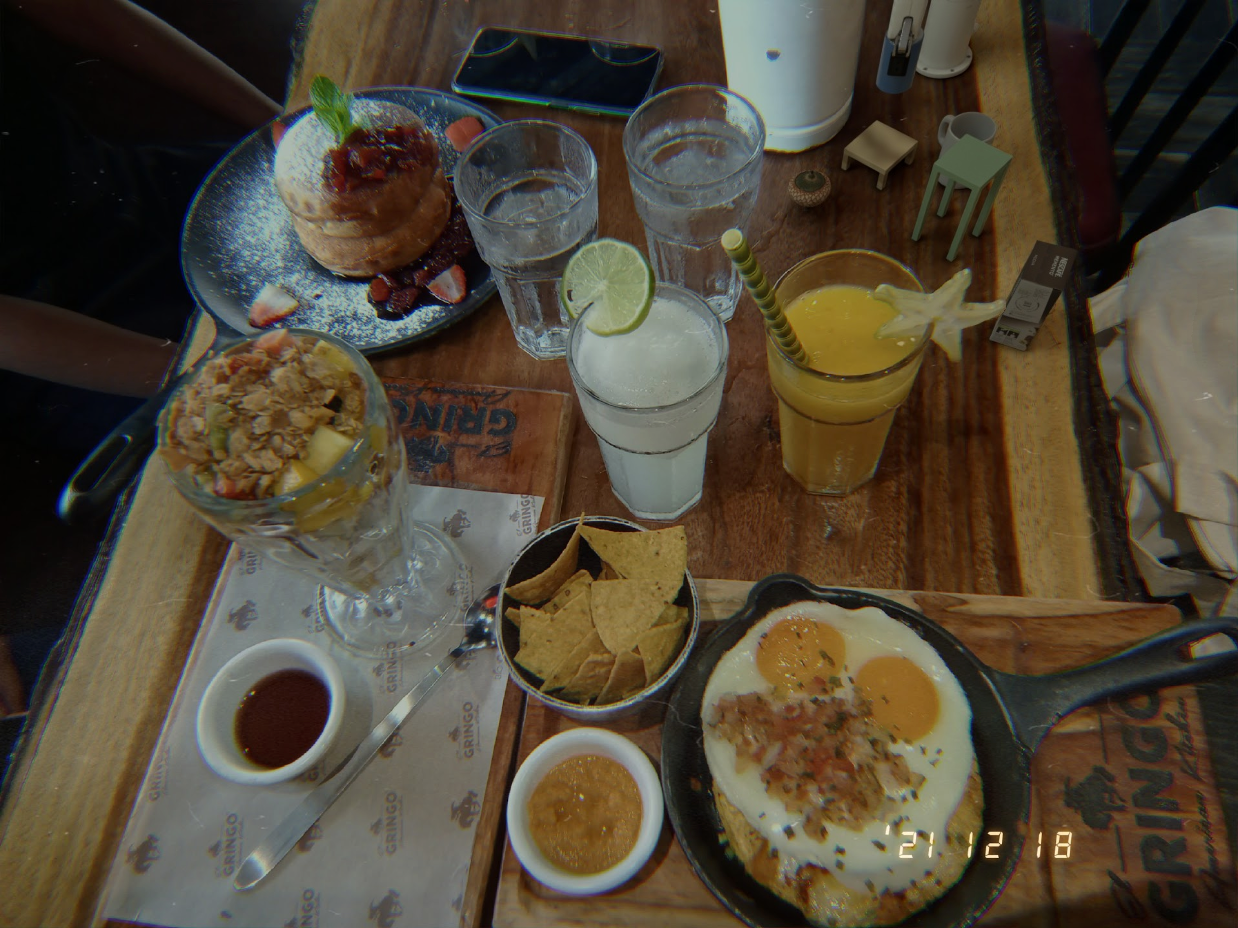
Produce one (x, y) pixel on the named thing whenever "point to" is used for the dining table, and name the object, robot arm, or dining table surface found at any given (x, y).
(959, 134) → the mug
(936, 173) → the tall green stool
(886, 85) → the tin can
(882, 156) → the low shelf
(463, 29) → the dining table surface
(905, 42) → the robot arm
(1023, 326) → the coffee box
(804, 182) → the acorn
